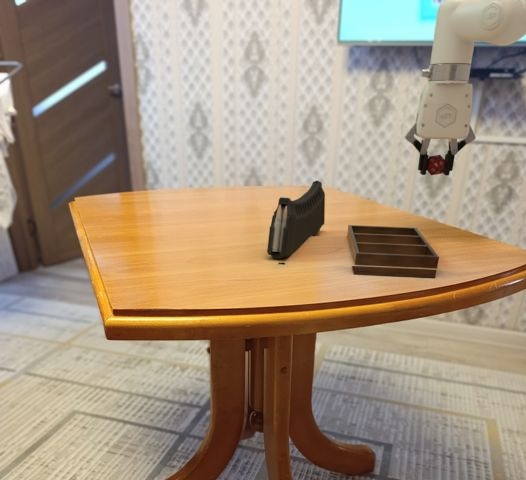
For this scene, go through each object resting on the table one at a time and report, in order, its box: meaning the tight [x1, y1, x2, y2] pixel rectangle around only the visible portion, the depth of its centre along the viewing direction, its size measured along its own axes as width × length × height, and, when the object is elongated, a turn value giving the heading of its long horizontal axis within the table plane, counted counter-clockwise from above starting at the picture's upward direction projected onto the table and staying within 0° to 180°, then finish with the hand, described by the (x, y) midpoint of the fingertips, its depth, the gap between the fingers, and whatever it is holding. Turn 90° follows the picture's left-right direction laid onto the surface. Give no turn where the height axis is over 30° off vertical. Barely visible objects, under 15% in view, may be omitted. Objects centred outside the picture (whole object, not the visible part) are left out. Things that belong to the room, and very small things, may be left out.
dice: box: [426, 154, 447, 176], centre depth 106 cm, size 4×4×4 cm
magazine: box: [266, 180, 326, 266], centre depth 96 cm, size 17×3×30 cm
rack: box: [346, 224, 440, 279], centre depth 91 cm, size 13×20×4 cm, turn 175°
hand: (434, 173), depth 107 cm, fingers closed on dice, 4 cm apart
